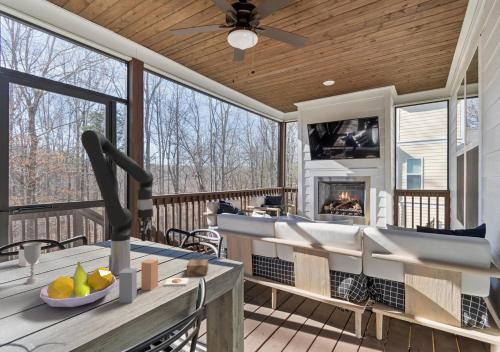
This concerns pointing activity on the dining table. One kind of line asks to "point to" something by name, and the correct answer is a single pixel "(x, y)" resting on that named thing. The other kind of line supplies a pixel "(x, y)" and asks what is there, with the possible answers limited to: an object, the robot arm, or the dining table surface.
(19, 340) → the dining table surface
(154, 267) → the terracotta block
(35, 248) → the chalice
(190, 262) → the walnut plinth
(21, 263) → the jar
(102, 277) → the fruit bowl
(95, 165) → the robot arm
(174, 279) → the card
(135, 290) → the grey block
